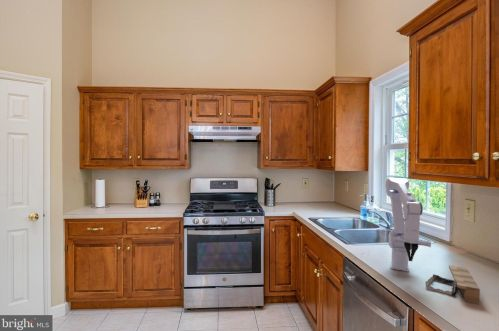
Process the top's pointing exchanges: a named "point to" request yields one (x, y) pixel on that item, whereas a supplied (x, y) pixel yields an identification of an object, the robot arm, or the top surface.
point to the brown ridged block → (466, 284)
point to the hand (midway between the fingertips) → (410, 260)
